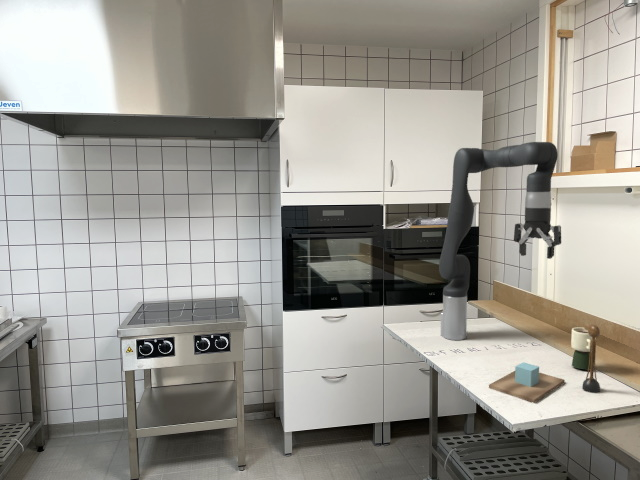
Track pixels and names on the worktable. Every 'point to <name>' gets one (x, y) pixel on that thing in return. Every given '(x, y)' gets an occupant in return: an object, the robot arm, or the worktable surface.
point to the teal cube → (527, 374)
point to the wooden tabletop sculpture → (592, 361)
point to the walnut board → (527, 387)
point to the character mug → (581, 348)
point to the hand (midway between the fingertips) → (536, 256)
